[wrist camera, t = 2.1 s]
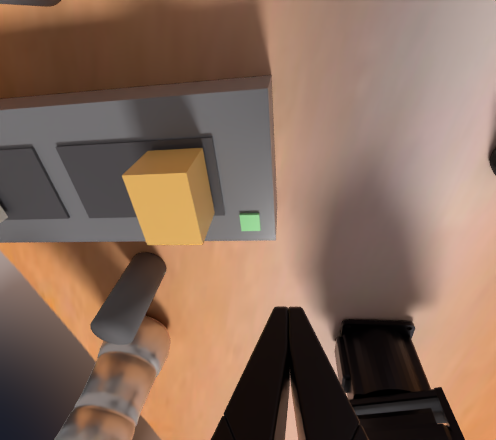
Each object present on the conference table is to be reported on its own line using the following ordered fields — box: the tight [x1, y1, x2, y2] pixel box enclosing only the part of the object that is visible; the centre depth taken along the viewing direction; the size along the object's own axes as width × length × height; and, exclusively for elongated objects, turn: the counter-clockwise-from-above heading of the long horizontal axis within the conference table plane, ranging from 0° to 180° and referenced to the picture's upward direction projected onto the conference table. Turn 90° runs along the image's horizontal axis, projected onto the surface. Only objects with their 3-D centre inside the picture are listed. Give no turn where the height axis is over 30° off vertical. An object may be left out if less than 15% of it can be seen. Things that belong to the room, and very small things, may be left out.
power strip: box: [0, 75, 277, 243], centre depth 19 cm, size 23×9×4 cm, turn 95°
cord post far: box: [91, 252, 166, 345], centre depth 24 cm, size 3×3×7 cm
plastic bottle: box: [54, 316, 170, 440], centre depth 24 cm, size 6×7×20 cm
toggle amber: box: [122, 148, 215, 245], centre depth 15 cm, size 3×4×3 cm
